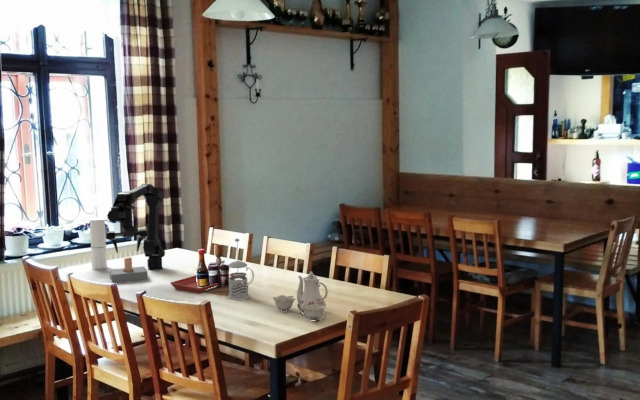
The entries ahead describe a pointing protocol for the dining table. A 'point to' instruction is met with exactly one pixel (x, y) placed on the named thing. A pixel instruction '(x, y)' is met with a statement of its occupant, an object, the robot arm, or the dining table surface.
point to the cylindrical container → (98, 243)
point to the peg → (128, 264)
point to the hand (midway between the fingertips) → (127, 252)
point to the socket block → (128, 274)
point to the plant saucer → (190, 285)
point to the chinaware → (306, 298)
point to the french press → (238, 281)
